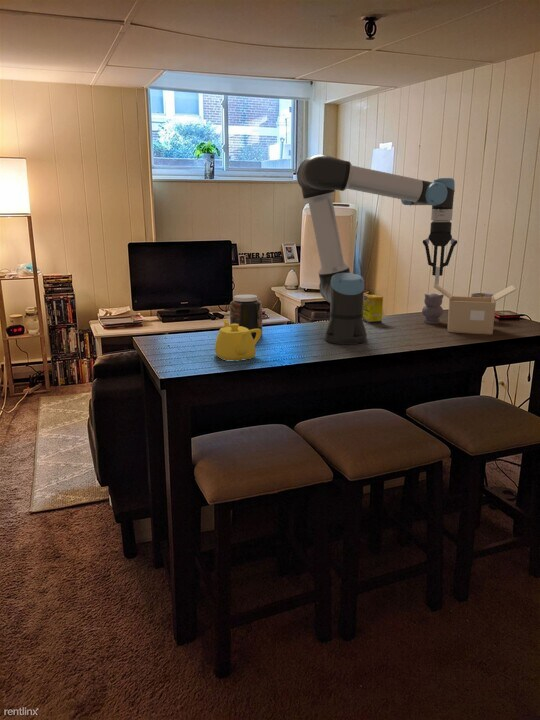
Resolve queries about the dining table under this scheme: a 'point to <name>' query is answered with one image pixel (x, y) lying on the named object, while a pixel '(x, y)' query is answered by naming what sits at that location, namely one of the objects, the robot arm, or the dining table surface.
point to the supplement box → (372, 308)
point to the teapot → (236, 342)
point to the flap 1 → (443, 291)
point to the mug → (482, 295)
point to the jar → (246, 312)
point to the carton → (471, 315)
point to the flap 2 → (503, 293)
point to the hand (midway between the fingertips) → (436, 284)
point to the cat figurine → (432, 308)
